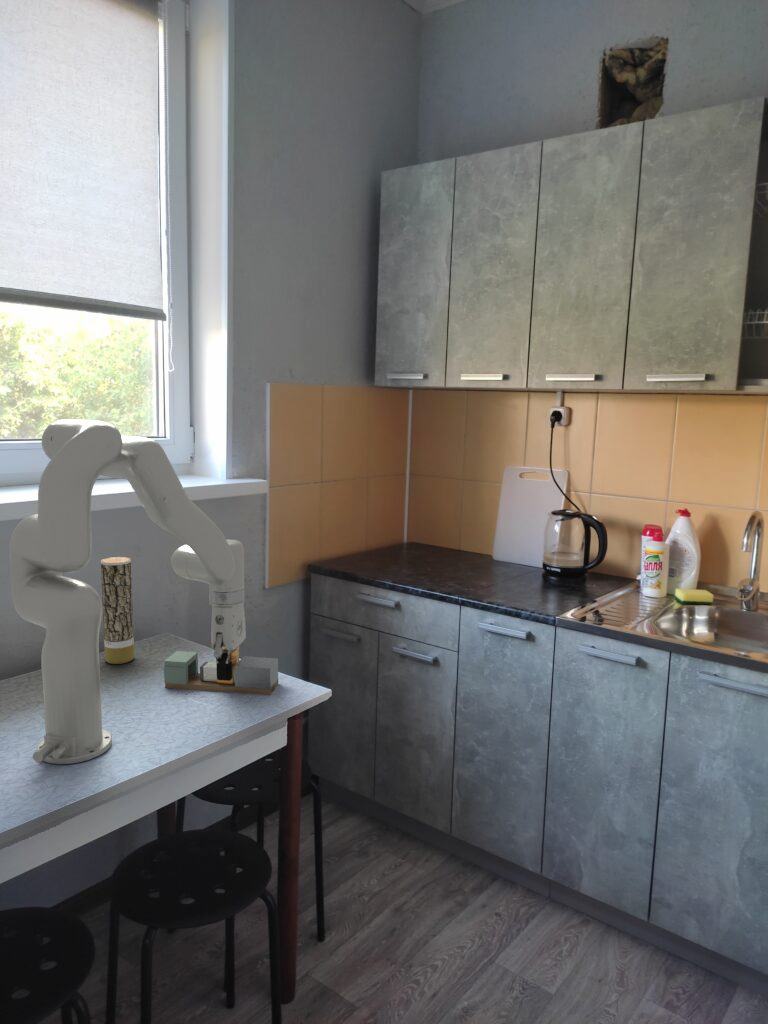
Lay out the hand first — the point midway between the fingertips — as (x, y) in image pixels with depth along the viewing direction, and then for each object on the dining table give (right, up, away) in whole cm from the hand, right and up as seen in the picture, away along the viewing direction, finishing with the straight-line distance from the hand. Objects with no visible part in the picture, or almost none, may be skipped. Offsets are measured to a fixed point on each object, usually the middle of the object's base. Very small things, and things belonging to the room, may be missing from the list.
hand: (228, 674), depth 164 cm
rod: (+2, -1, 0) cm, 2 cm away
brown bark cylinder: (-30, 0, +15) cm, 33 cm away
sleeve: (+6, -2, -1) cm, 7 cm away
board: (-1, -3, +1) cm, 3 cm away
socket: (-11, -1, +2) cm, 11 cm away
